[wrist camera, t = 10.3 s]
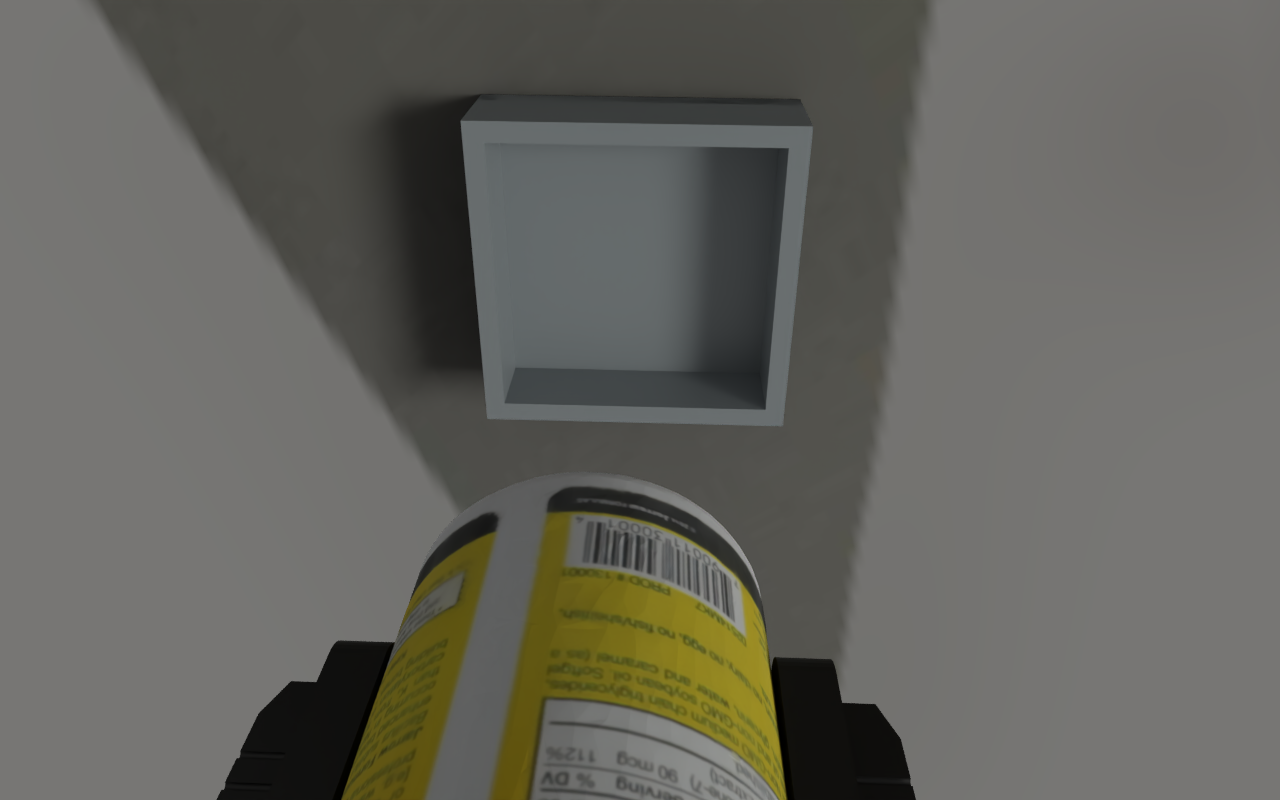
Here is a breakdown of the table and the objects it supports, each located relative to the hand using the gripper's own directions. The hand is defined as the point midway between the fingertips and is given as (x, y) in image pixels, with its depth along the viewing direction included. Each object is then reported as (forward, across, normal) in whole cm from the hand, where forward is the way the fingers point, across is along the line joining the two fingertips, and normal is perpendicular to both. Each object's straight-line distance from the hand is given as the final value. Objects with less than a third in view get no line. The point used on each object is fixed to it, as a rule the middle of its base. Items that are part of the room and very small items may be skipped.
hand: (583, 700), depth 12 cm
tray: (+16, 0, 0) cm, 16 cm away
